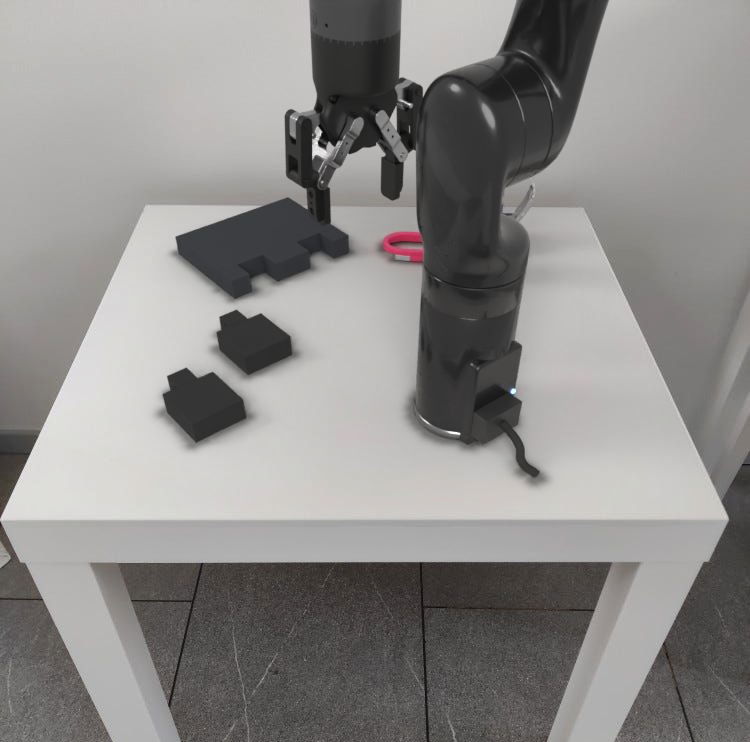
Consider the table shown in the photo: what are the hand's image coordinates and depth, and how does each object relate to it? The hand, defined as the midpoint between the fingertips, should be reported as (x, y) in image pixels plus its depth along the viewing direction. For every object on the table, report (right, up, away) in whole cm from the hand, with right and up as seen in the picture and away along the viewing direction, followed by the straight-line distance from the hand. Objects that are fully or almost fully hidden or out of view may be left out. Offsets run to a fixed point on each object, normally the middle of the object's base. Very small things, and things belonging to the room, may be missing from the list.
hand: (356, 209), depth 75 cm
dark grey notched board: (-13, +5, +27) cm, 31 cm away
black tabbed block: (-13, -11, +13) cm, 21 cm away
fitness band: (+7, +5, +28) cm, 29 cm away
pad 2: (-17, -19, +5) cm, 26 cm away
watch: (+18, +6, +29) cm, 35 cm away
